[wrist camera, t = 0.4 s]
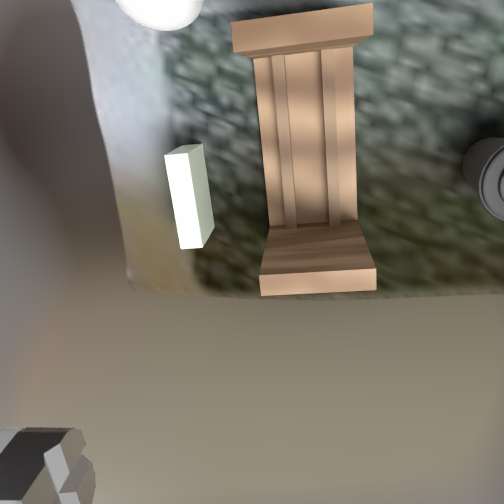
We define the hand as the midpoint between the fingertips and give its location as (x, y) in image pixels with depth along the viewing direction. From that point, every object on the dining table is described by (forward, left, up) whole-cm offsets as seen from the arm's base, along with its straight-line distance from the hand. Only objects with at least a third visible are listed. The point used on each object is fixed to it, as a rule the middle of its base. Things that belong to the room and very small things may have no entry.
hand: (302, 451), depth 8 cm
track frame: (+1, 0, -45) cm, 45 cm away
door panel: (+5, -13, -45) cm, 47 cm away
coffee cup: (+5, +19, -45) cm, 49 cm away
